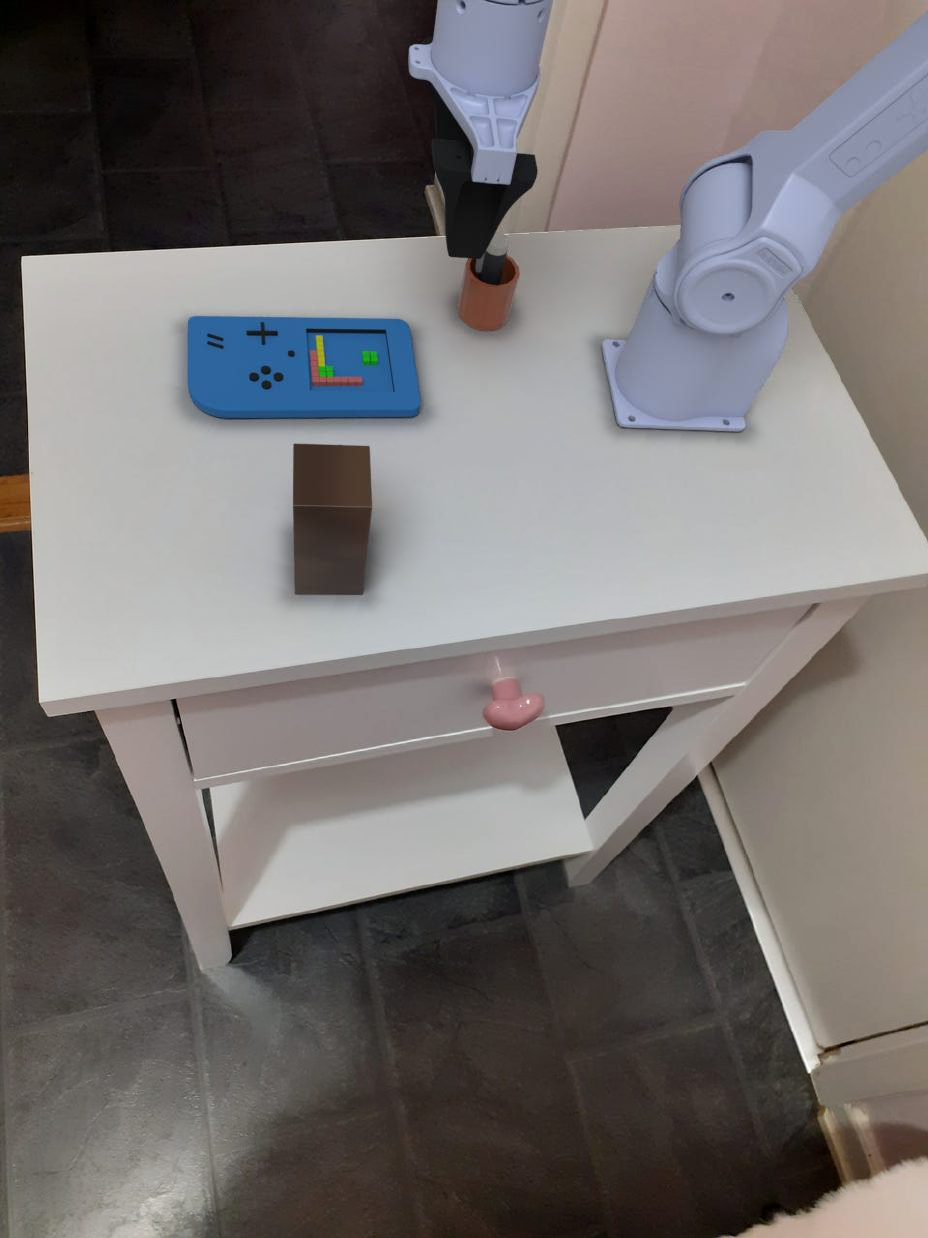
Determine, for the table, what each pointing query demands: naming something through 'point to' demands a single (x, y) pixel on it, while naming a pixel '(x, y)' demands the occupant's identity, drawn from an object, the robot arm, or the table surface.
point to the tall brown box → (331, 518)
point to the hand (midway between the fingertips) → (459, 210)
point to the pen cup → (487, 297)
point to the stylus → (493, 260)
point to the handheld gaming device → (301, 367)
